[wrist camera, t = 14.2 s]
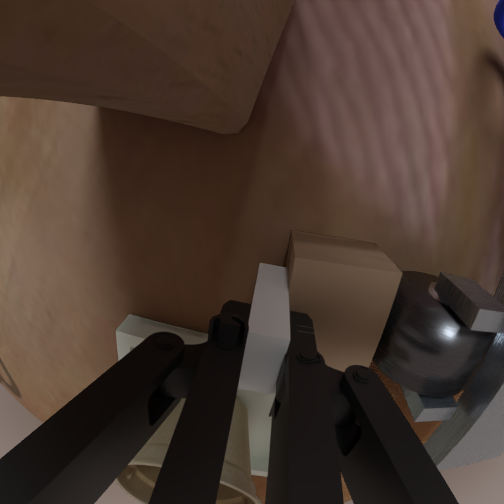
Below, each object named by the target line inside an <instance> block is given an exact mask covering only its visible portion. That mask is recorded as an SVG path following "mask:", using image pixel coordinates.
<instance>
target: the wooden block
mask: <svg viewBox="0 0 504 504" xmlns="http://www.w3.org/2000/svg"><path fill="white" fill-rule="evenodd" d="M294 3H295V0H0V96H8V97H23V98H35V99H45V100H54V101H63V102H71V103H78V104H85V105H91V106H98V107H104V108H110V109H115V110H121V111H126V112H131V113H136V114H141V115H146V116H151V117H155V118H160V119H164V120H169V121H173V122H177V123H181V124H185V125H189V126H193V127H197V128H201V129H205V130H209V131H212V132H216V133H220V134H235V133H239V132H240V130H241V129H242V128H243V127H244V126H245V125H246V124H247V123H248V121H249V118H250V115H251V112H252V110H253V107H254V104H255V102H256V99H257V96H258V93H259V91H260V88H261V85H262V83H263V80H264V77H265V75H266V72H267V70H268V67H269V64H270V62H271V59H272V57H273V54H274V52H275V49H276V47H277V44H278V42H279V39H280V37H281V34H282V32H283V29H284V27H285V24H286V22H287V20H288V17H289V15H290V12H291V10H292V8H293V5H294Z"/></svg>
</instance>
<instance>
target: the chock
mask: <svg viewBox="0 0 504 504" xmlns="http://www.w3.org/2000/svg"><path fill="white" fill-rule="evenodd" d="M285 267H286V268H287V269H288V289H289V311H295V312H300V313H306V314H308V315H309V317H310V318H311V319H312V320H313V327H314V334H315V339H316V346H317V351H318V352H319V353H320V354H321V355H322V356H323V358H324V360H325V364H326V365H328V366H329V367H331V368H334V369H337V370H339V371H342V372H345V370H346V368H347V367H349V366H351V365H362V366H365V367H368V368H369V365H370V363H371V361H372V358H373V356H374V353H375V351H376V348H377V346H378V343H379V341H380V338H381V336H382V333H383V330H384V328H385V325H386V322H387V319H388V317H389V314H390V311H391V308H392V305H393V302H394V299H395V296H396V293H397V290H398V287H399V283H400V280H401V277H402V272H401V271H400V270H399V269H398V268H397V266H396V265H395V264H394V263H393V262H392V261H391V260H390V259H389V258H388V257H387V256H386V254H385V253H384V252H383V251H382V250H381V249H380V248H379V247H378V246H377V245H376V244H375V243H369V242H363V241H357V240H351V239H345V238H339V237H333V236H327V235H320V234H314V233H308V232H301V231H295V230H292V231H291V237H290V243H289V249H288V254H287V260H286V266H285Z"/></svg>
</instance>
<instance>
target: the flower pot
mask: <svg viewBox="0 0 504 504" xmlns="http://www.w3.org/2000/svg"><path fill="white" fill-rule="evenodd" d="M185 400H186V398H181V401H180V402H179V404H178V405H177V406H176V407H175V409H174V410H173V411H172V412H171V414H170V415H169V416H168V417H167V418H166V420H165V421H164V422H163V423H162V425H161V426H160V427H159V428H158V429H157V431H156V432H155V433H154V434H153V435H152V437H151V438H150V439H149V440H148V442H147V443H146V444H145V445H144V446H143V448H142V449H141V450H140V451H139V452H138V453H137V455H136V456H135V457H134V458H133V459H132V461H131V462H130V463H129V464H128V465H127V466H126V468H125V469H124V470H123V471H122V472H121V473H120V475H119V476H118V477H117V478H116V479H115V482H116V483H117V485H118V486H119V487H120V488H121V489H122V490H123V491H125V492H126V493H127V494H129V495H130V496H131V497H133V498H134V499H136V500H137V501H139V502H141V503H142V504H148V503H149V501H150V498H151V495H152V492H153V489H154V486H155V483H156V481H157V478H158V475H159V472H160V469H161V467H162V464H163V461H164V458H165V455H166V453H167V450H168V447H169V444H170V441H171V439H172V436H173V433H174V430H175V428H176V425H177V422H178V419H179V416H180V414H181V411H182V408H183V405H184V403H185ZM216 504H262V502H261V500H260V499H259V497H258V496H257V495H256V487H255V483H254V482H253V480H252V478H251V463H250V446H249V428H248V410H247V407H246V405H245V404H243V403H242V402H241V401H240V400H239V399H238V397H237V396H236V400H235V406H234V411H233V416H232V421H231V427H230V432H229V437H228V443H227V448H226V453H225V458H224V463H223V469H222V474H221V479H220V484H219V489H218V494H217V499H216Z"/></svg>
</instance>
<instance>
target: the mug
mask: <svg viewBox="0 0 504 504" xmlns="http://www.w3.org/2000/svg"><path fill="white" fill-rule="evenodd" d="M494 22H495V25H496V28H497V29H498V31H499V33H500V34H501V35H502V37H503V38H504V0H499V2H498V3H497V5H496V8H495V11H494Z"/></svg>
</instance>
